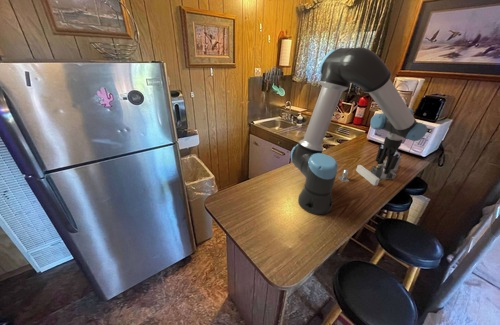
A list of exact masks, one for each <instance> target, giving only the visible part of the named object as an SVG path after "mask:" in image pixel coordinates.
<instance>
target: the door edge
mask: <svg viewBox="0 0 500 325" xmlns="http://www.w3.org/2000/svg"><path fill="white" fill-rule="evenodd" d="M368 170H369V169H367V168H365V167H364V166H363V165H361V164H358V165H357V166H356V169H355V172H357V173H358V174H359V175H360V176H361V177H363V178H365V180H366V181H367V182H369V183H370V184H371V185H372V186H374V187H375V186H378V185H379V183H380V181H381V180H380V179H379V178H377V177H376V176H375V175H373V174H372V173H371V172H370V171H371V170H370V171H368Z"/></svg>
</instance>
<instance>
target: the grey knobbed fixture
mask: <svg viewBox="0 0 500 325" xmlns="http://www.w3.org/2000/svg"><path fill="white" fill-rule="evenodd" d="M348 173H349V169H347V168H344V169H343V171H342V175H340V176H337V177H338V179H339V180H340V181H341V182H343V183H347V182H350V180H349V179H348V178H347V177H348Z"/></svg>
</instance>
